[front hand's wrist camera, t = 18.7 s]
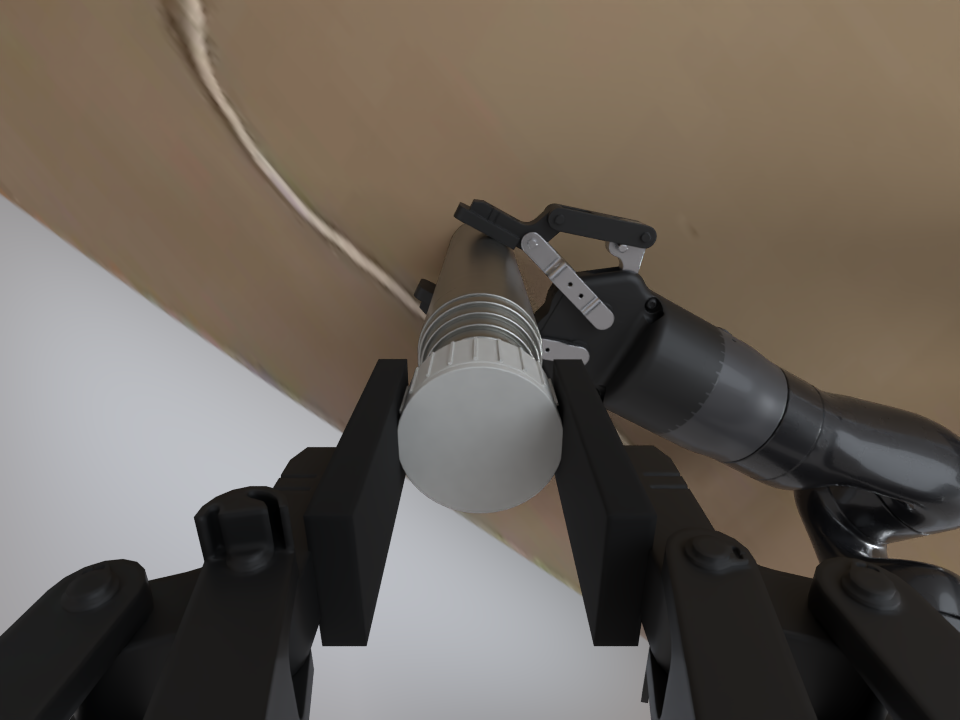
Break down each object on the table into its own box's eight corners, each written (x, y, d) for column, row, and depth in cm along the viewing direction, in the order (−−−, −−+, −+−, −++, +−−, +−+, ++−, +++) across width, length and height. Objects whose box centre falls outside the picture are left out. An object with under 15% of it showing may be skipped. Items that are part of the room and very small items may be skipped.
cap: (486, 303, 13) (487, 328, 12) (586, 411, 15) (601, 450, 13) (373, 400, 14) (357, 438, 13) (474, 495, 16) (474, 542, 14)
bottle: (451, 283, 38) (402, 506, 14) (447, 220, 36) (384, 354, 12) (512, 280, 37) (565, 500, 14) (510, 217, 36) (568, 347, 12)
